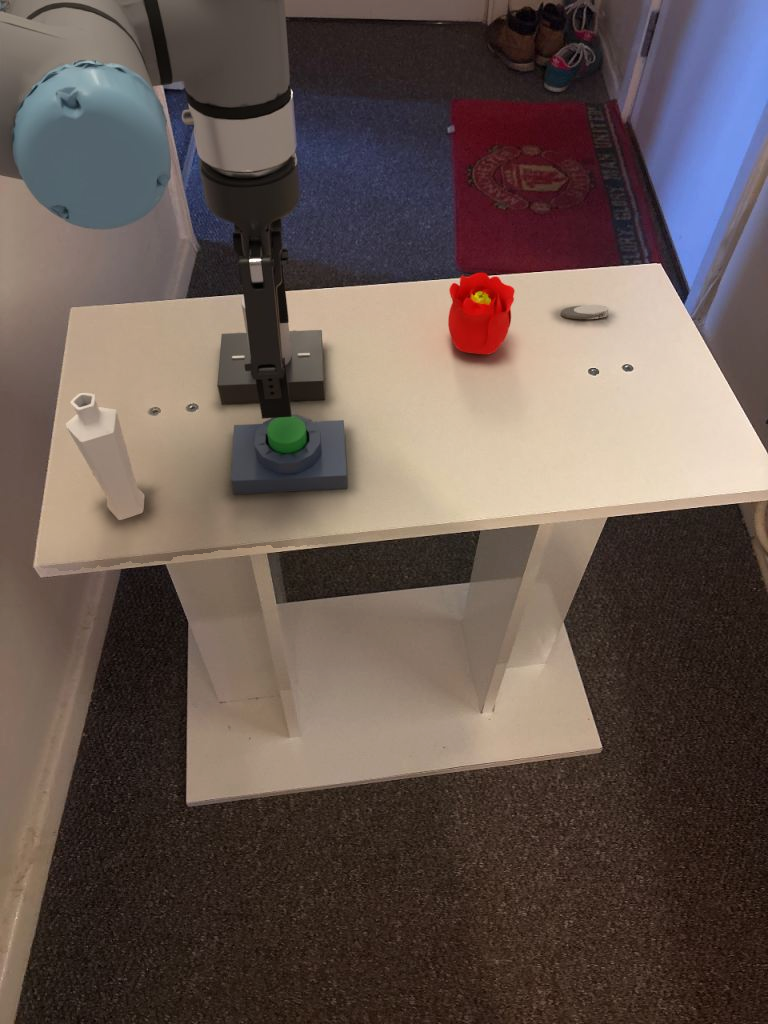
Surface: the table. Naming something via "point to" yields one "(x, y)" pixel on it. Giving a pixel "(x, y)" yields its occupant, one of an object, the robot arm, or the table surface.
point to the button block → (289, 459)
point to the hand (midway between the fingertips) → (276, 365)
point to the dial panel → (300, 370)
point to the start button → (287, 435)
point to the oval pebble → (585, 312)
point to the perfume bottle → (106, 454)
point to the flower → (480, 313)
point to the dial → (284, 336)
